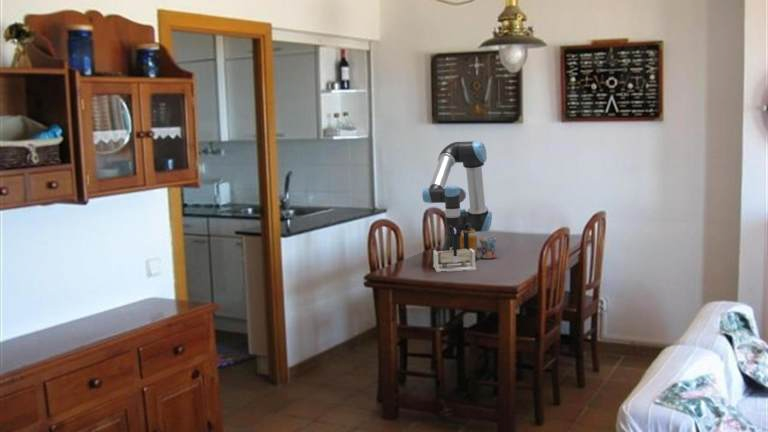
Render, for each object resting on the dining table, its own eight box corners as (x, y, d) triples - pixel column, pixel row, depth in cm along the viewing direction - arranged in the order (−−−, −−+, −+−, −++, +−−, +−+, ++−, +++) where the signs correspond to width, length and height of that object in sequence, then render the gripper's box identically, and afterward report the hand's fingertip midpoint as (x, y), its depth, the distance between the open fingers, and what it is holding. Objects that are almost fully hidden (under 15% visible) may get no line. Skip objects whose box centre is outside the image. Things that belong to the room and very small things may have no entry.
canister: (478, 258, 434) (478, 221, 431) (474, 262, 423) (473, 224, 421) (462, 257, 437) (461, 221, 434) (458, 261, 426) (457, 224, 424)
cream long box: (437, 261, 409) (437, 251, 408) (466, 258, 413) (466, 248, 412) (441, 263, 403) (441, 253, 402) (470, 260, 407) (470, 250, 406)
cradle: (433, 266, 415) (432, 249, 414) (471, 264, 416) (470, 247, 415) (436, 272, 401) (436, 254, 400) (476, 270, 402) (475, 252, 401)
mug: (493, 259, 427) (493, 240, 426) (477, 259, 431) (476, 239, 430) (500, 255, 438) (500, 236, 437) (484, 255, 442) (483, 236, 441)
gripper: (442, 214, 414) (443, 258, 417) (448, 219, 395) (449, 264, 398) (457, 214, 415) (458, 257, 418) (463, 218, 395) (464, 264, 398)
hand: (453, 260), depth 408 cm, fingers closed on cream long box, 7 cm apart
